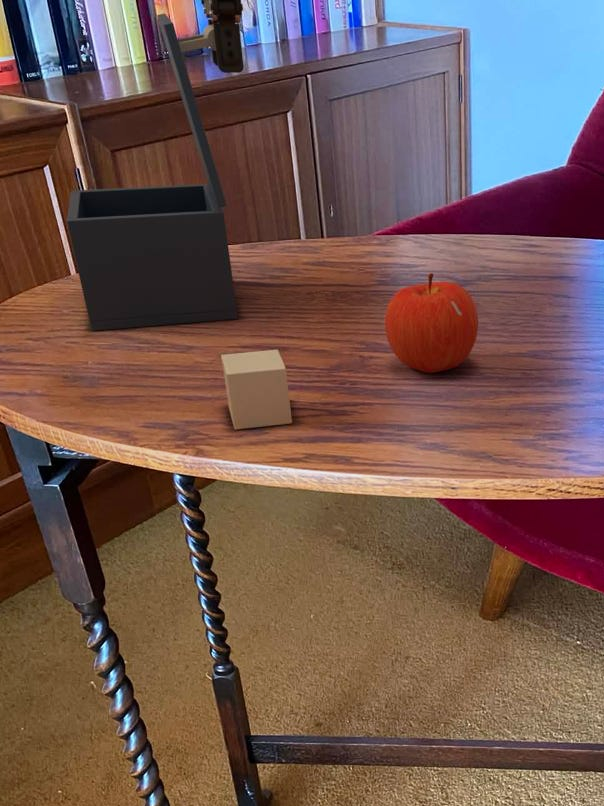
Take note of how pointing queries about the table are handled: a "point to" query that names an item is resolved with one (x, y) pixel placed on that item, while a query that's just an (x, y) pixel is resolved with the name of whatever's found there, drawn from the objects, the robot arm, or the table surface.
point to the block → (256, 389)
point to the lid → (184, 84)
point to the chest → (151, 256)
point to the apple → (432, 325)
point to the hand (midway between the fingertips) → (228, 68)
